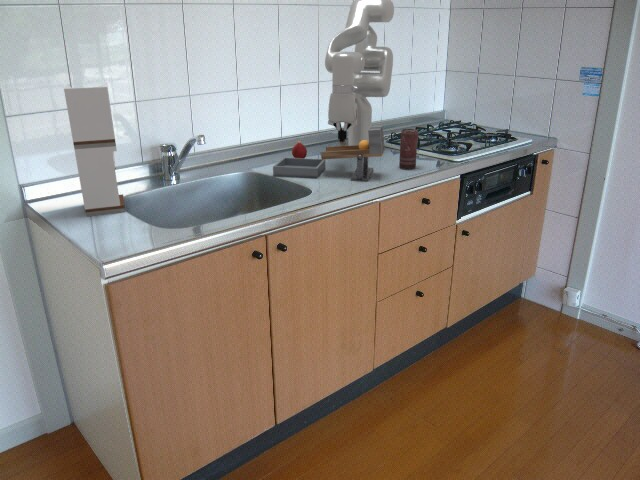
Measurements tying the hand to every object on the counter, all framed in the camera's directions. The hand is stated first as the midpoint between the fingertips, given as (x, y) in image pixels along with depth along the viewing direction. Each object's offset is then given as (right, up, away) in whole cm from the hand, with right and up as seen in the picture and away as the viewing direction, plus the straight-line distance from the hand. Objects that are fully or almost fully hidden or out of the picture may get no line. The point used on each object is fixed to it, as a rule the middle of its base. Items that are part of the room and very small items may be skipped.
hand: (342, 141), depth 202 cm
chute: (+4, -5, -6) cm, 9 cm away
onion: (-16, -6, +12) cm, 21 cm away
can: (+24, -10, +2) cm, 26 cm away
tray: (-15, -12, -3) cm, 20 cm away
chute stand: (+7, -14, -8) cm, 17 cm away
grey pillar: (-71, -27, -40) cm, 87 cm away
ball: (+7, -4, -12) cm, 14 cm away
